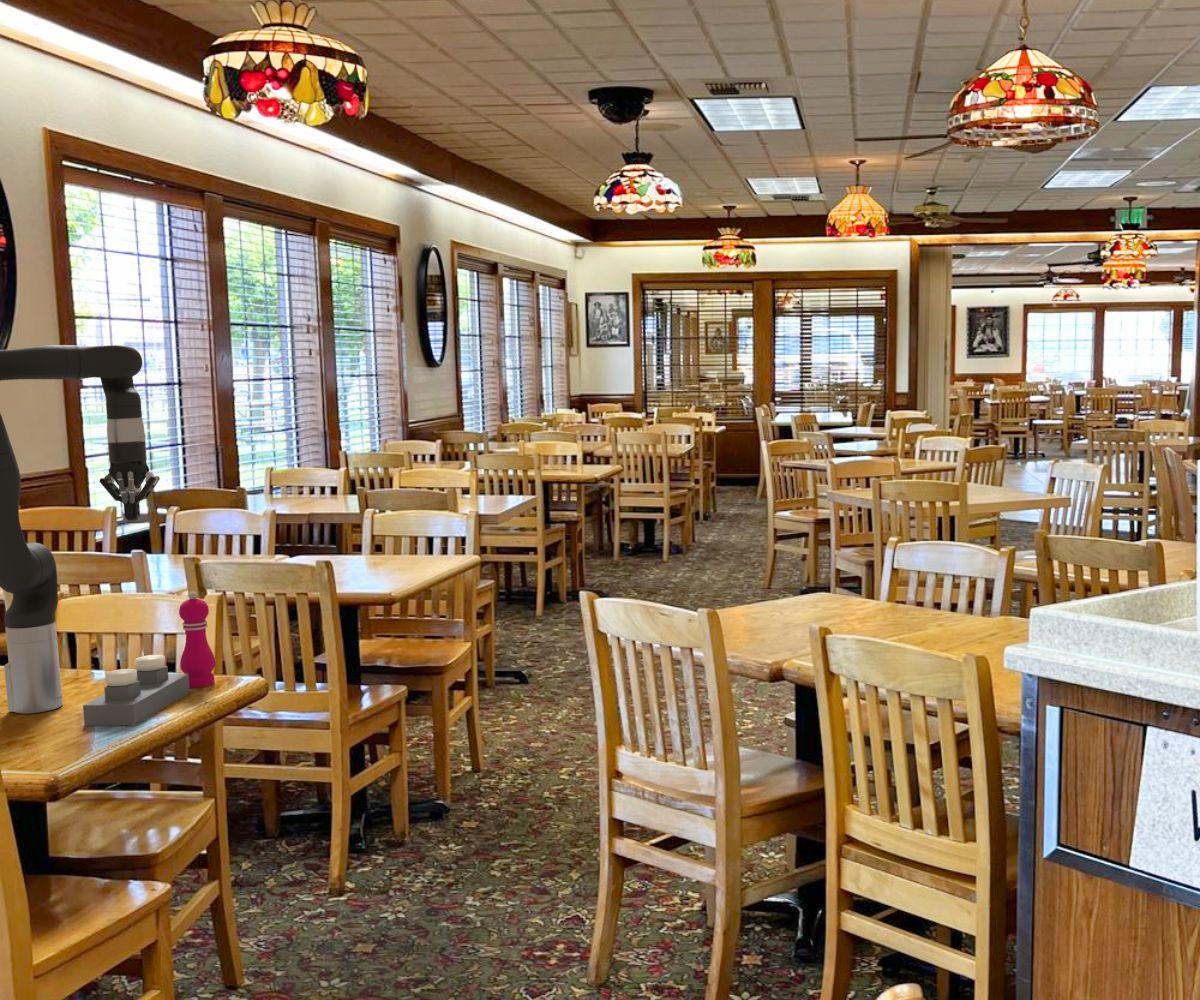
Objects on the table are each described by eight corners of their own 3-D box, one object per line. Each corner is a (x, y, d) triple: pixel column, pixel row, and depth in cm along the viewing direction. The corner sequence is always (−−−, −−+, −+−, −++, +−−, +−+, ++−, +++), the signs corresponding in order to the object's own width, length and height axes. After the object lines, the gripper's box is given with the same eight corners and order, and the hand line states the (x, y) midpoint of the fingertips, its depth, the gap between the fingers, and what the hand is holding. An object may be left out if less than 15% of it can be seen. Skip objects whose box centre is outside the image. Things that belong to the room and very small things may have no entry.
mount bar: (84, 725, 243) (81, 692, 242) (143, 693, 266) (141, 662, 266) (134, 725, 241) (131, 691, 241) (189, 692, 265) (187, 661, 264)
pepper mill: (206, 688, 268) (199, 594, 266) (175, 688, 269) (167, 594, 267) (223, 680, 275) (216, 588, 273) (192, 679, 276) (185, 588, 274)
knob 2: (132, 683, 257) (130, 661, 256) (145, 676, 262) (143, 654, 262) (158, 683, 256) (156, 661, 256) (171, 676, 262) (169, 654, 261)
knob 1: (102, 699, 245) (100, 676, 244) (116, 691, 250) (114, 669, 250) (129, 698, 244) (128, 675, 244) (143, 691, 250) (141, 668, 249)
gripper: (88, 441, 269) (94, 523, 271) (147, 439, 268) (154, 521, 269) (105, 439, 277) (112, 519, 278) (163, 437, 275) (170, 517, 277)
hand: (132, 520), depth 274 cm, fingers closed
